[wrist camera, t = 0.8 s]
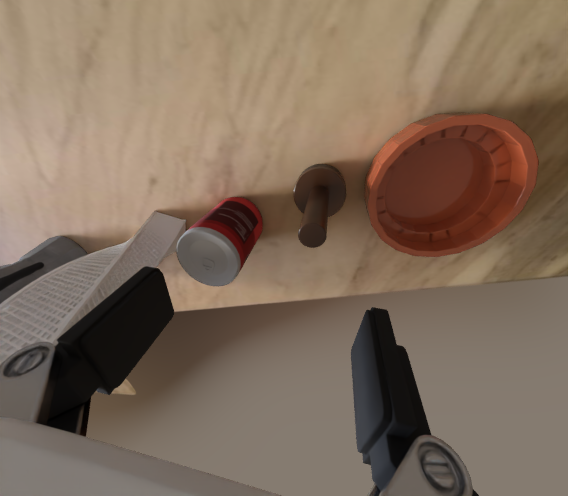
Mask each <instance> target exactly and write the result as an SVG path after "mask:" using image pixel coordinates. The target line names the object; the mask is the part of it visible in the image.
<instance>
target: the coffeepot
mask: <svg viewBox="0 0 568 496" xmlns="http://www.w3.org/2000/svg"><path fill="white" fill-rule="evenodd" d="M85 255H88V254H87V253H86V252H85V250H84V249H83V248H82V247H81V246H79V245H78V244H77V243H75V242H74V241H72V240H70V239H68V238H65V237H62V236H57V237H53V238H49V239H47V240H46V241H44V242H43V243H41V244H40V245H39V246H37V247H36V248H34V249H33V250H31V251H30V252H28V253H27V254H25V255H24V256H22V257H21V258H20V259H19V261H17V262H15V263H13V264H9V265H4V266H0V304H1V303H2V302H4V301H5V300H6V299H8V298H9V297H10V296H12V295H13V294H15V293H16V292H18V291H19V290H21V289H22V288H24V287H25V286H27V285H28V284H30V283H31V282H33V281H35V280H36V279H38V278H40V277H41V276H43V275H45V274H47V273H48V272H50V271H52V270H54V269H56V268H58V267H60V266H62V265H64V264H66V263H68V262H70V261H73V260H75V259H78V258H80V257H82V256H85Z"/></svg>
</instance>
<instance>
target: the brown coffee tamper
mask: <svg viewBox="0 0 568 496" xmlns="http://www.w3.org/2000/svg"><path fill="white" fill-rule="evenodd" d="M345 197H346V188H345V182H344V179H343V176H342V175H341V173H340V172H339V171H338V170H337V169H336V168H334V167H332V166H330V165H327V164H316V165H313V166H310V167H309V168H307V169H306V170H305V171H303V172H302V174H301V175H300V177H299V179H298V181H297V183H296V185H295V188H294V200H295V203H296V205H297V207H298V208H299V210H300V211H301V212H302V213H304V215H303V218H302V222H301V225H300V229H299V232H298V237H299V240H300V242H301V243H302V244H303V245H305V246H307V247H311V248H314V247H318V246H320V245H322V244H323V243H324V242H325V240H326V234H327V219H328V217H330V216H332V215H334V214H335V213H336V212H338V211H339V210H340V208H341V207H342V205H343V203H344V201H345Z"/></svg>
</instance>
